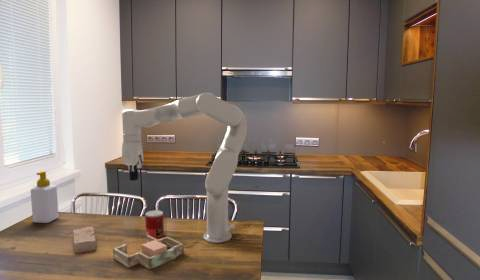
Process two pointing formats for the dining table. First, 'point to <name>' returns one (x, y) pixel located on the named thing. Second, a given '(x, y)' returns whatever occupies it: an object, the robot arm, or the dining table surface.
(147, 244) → the block
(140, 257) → the channel
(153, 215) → the canned food
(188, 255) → the dining table surface
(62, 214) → the dining table surface
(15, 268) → the dining table surface
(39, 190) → the soap bottle
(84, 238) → the brick
